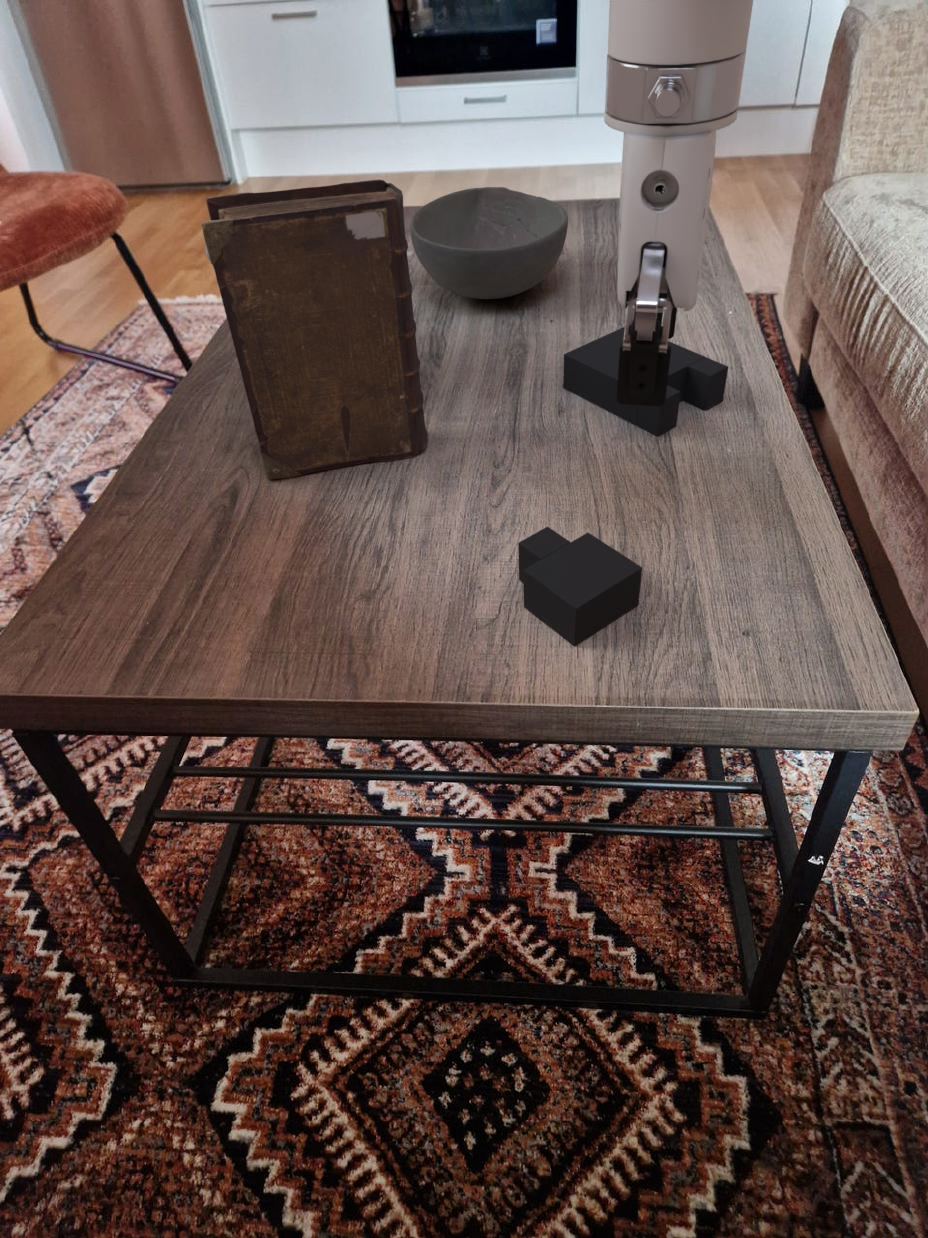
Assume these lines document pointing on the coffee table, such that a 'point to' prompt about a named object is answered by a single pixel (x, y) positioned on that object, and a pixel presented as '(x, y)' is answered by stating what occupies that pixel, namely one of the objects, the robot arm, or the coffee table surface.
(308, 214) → the book
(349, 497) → the coffee table surface
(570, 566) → the pad
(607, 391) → the notch pad
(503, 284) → the bowl
